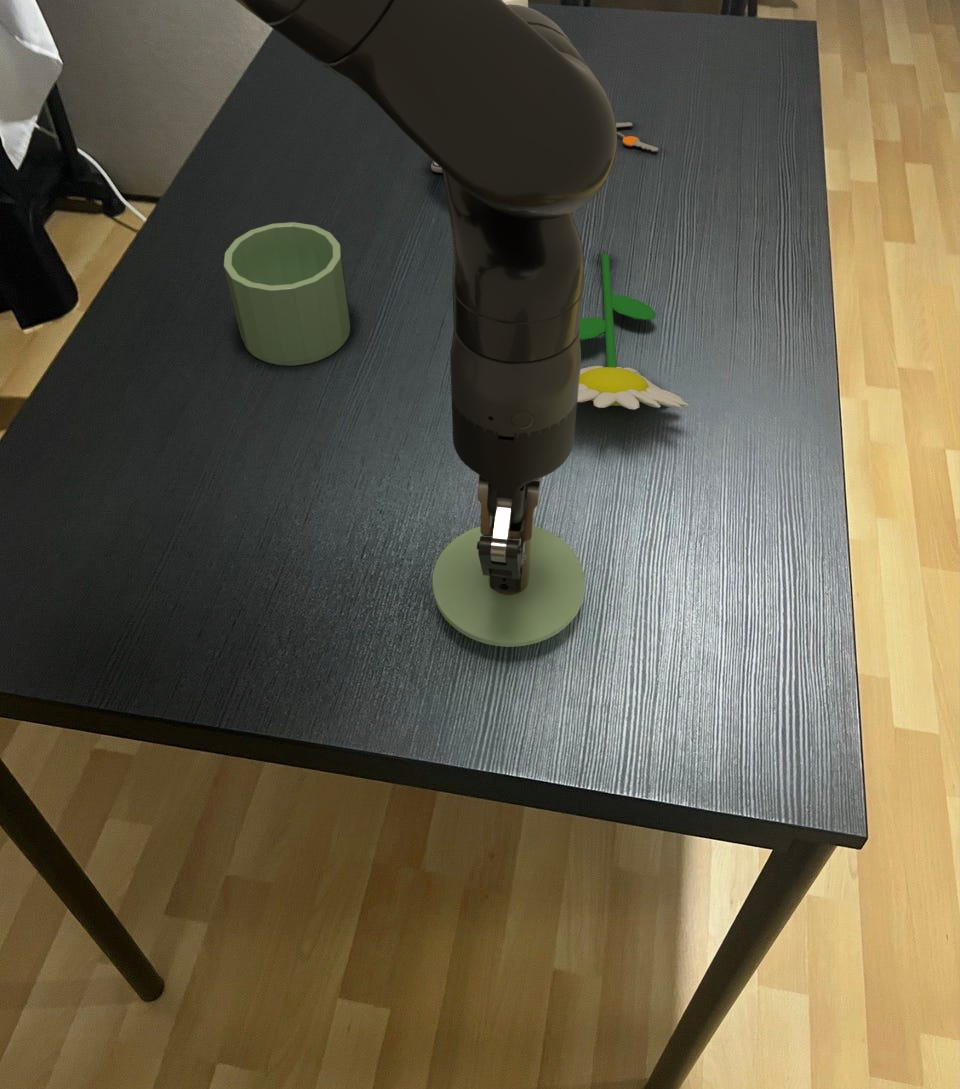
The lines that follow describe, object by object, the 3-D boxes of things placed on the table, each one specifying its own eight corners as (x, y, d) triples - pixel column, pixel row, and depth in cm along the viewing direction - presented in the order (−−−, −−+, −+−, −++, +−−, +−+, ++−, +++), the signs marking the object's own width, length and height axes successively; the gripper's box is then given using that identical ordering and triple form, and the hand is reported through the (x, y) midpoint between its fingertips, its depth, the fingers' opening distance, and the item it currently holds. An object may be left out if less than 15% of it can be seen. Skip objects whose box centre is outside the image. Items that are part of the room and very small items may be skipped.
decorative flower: (541, 277, 105) (534, 449, 83) (545, 234, 102) (539, 401, 79) (661, 287, 105) (686, 462, 83) (670, 244, 101) (698, 414, 79)
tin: (296, 380, 91) (281, 304, 85) (219, 336, 96) (199, 260, 89) (372, 324, 97) (364, 248, 90) (297, 285, 101) (283, 210, 94)
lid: (523, 679, 69) (526, 618, 63) (401, 598, 73) (395, 534, 68) (613, 579, 74) (623, 515, 69) (495, 510, 79) (496, 444, 73)
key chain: (549, 155, 116) (549, 148, 116) (548, 123, 121) (548, 117, 121) (659, 155, 116) (660, 148, 115) (653, 124, 121) (654, 117, 120)
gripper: (470, 307, 64) (472, 492, 77) (430, 462, 55) (440, 641, 68) (588, 318, 63) (569, 503, 76) (566, 477, 54) (550, 655, 67)
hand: (509, 567), depth 72 cm, fingers closed on lid, 3 cm apart
